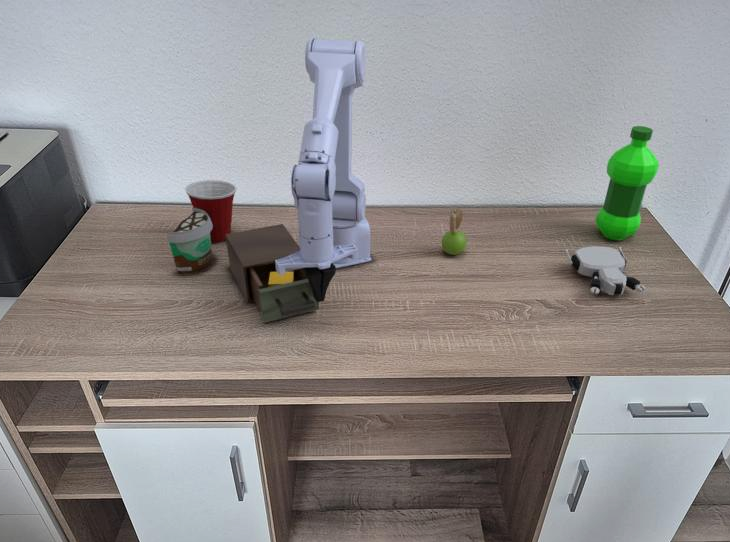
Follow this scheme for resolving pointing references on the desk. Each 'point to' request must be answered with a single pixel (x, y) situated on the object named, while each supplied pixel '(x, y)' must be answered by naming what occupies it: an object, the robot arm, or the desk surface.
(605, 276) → the robot toy
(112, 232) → the desk surface
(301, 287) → the drawer
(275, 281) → the block
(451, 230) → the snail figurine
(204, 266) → the food container
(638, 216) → the plastic bottle
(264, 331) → the desk surface
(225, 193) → the plastic cup
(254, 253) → the cabinet
